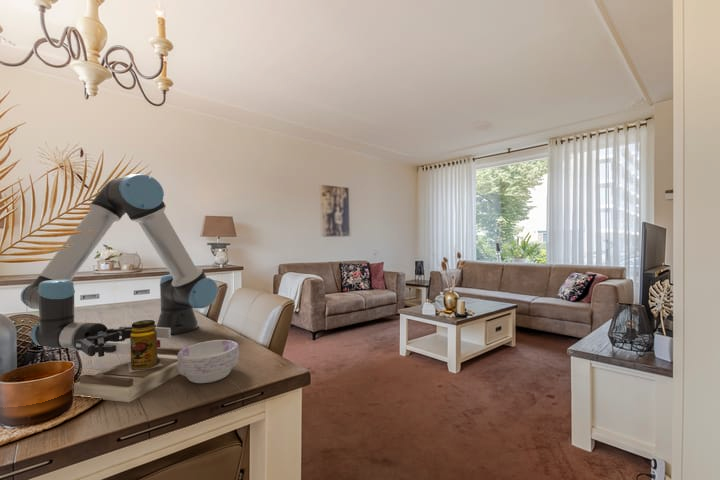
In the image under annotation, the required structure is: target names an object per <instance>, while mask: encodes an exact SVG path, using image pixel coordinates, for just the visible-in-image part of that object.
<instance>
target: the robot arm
mask: <svg viewBox="0 0 720 480" xmlns="http://www.w3.org/2000/svg"><path fill="white" fill-rule="evenodd" d="M164 196H165V193H164V189H163V186H162V185H161V183H160V182H159V181H158V180H157V179H155V178H154V177H153V176H150V175H147V174H144V173H132V174H127V175H123V176H122V177H121V176H120V177H115V178H113V179H111V180H110V181H108V182H107V183H106V184H105V185H104V186H103V187H102V188H101V189H100V191H99V192H98V193H97V194H96V196H95V198H94V199H93V200H92V201H91V202H90V204H89V205H88V206H89V210H88V212H87V213H86V215H85V216H84V217H83V218H82V220H81V221H80V223H79V224H78V225H77V226H76V228H75V229H74V230H73V232H74V231H81V233H78V234H73V235H71V234H70V235H69V236H68V238H67V240H66V241H65V242H64V243H74V244H68V245H67V244H64V243H63V244H62V245H61V247H66V246H69V247H70V248H66V249H62V250H60V249H58V251H57V252H56V253H55V255H54V256H53V257H52V259H51V260H50V261H49V262H48V264H47V265H46V267H45V268H44V269H43V270H42V271H41V272H40V274H39V275H38V277H37V278H36V279H35V280H34V281H33V283H32V284H31V283H30V284H29V285H27V286H25V287H24V288H23V289H22V290H21V292H20V301H21V302H22V304H24V305H25V306H26V307H28V308H30V309H33V310H38V315H39V322H38V323H37V324H35V325H33V327H32V329H31V330H30V333H29V336H30V338H31V339H32V340H33V342H34V343H35V344H36V345H38V346H48V347H51V348H54V349H53V350H57V349H56V348H68V349H70V350H69V351H71V350H72V351H75V352H76V351H77V352H79V351H81V352H83V353H84V354H85V355H87V356H88V357H94V356H96V353H97V354H98V355H97V356H98V358H101V357H102V358H103V357H105V354H116V355H129V354H130V355H131V349H130V346H131V342H126V341H125V340H127V339H130V335H131V333H132V326H120V327H118V328H108V327H107V325H105V324H103V323H101V322H100V323H99V322H85V321H84V322H81V321H80V322H78V321H75V292H76V290H75V285H74V281H73V278H74V277H75V276H76V274H77V273H78V272H79V270H80V269H81V268H82V266H83V264H85V262H86V261H87V259H89V256H90V255H92V253H93V251H94V250H95V248H96V247H97V246H98V245H99V243H100V242H101V240H103V237H104V236H105V235H106V234H107V232H108V231H109V230H110V228H111V227H112V225H113V224H114V223H115V222H119V221H120V220H121V219H122V217H123V216H124V215H125V214H126V215H127V216H128V218H129V219H130V221H132V222H136V223H138V225H140V227H141V229H142V231H143V232H144V234H145V236H146V237H147V238H148V240H149V242H150V244H151V245H152V247H153V248H154V250H155V251H156V253H157V255H158V257H159V258H160V259H161V261H162V263H163V265H164V266H165V268H166V269H167V271H168V272H169V274H165V275H162V276H161V277H160V281H159V287H160V288H159V289H160V290H159V292H160V296H159V297H160V314H159V318H158V320H157V323H156V324H155V330H156V331H157V338H160V339H161V338H162V339H163V338H164V339H169V338H170V339H171V337H172V335H176V334H183V333H187V332H190V331H193V330H196V329H197V328H198V327H199V324H198V319H197V316H196V315H195V311H194V309H206V308H207V307H210V305H212V304H213V303H214V302H215V300H216V298H217V295H218V292H219V291H218V290H219V288H218V285H217V282H216V281H215V280H214V279H212V278H210V277H207V275H206V274H205V272H204V270H203V269H202V268H201V267H197V266H196V265H195V263H194V262H193V260H192V257H190V254H189V253H188V251H187V250H186V248H185V246H184V244H183V242H182V241H181V239H180V238H179V236H178V234H177V232H176V231H175V229H174V227H173V226H172V224H171V221H170V220H169V218H168V217H167V215H166V213H165V210H166V204H165V202H164ZM82 230H83V231H82ZM86 230H92V231H86ZM124 341H125V342H124Z"/></svg>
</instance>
